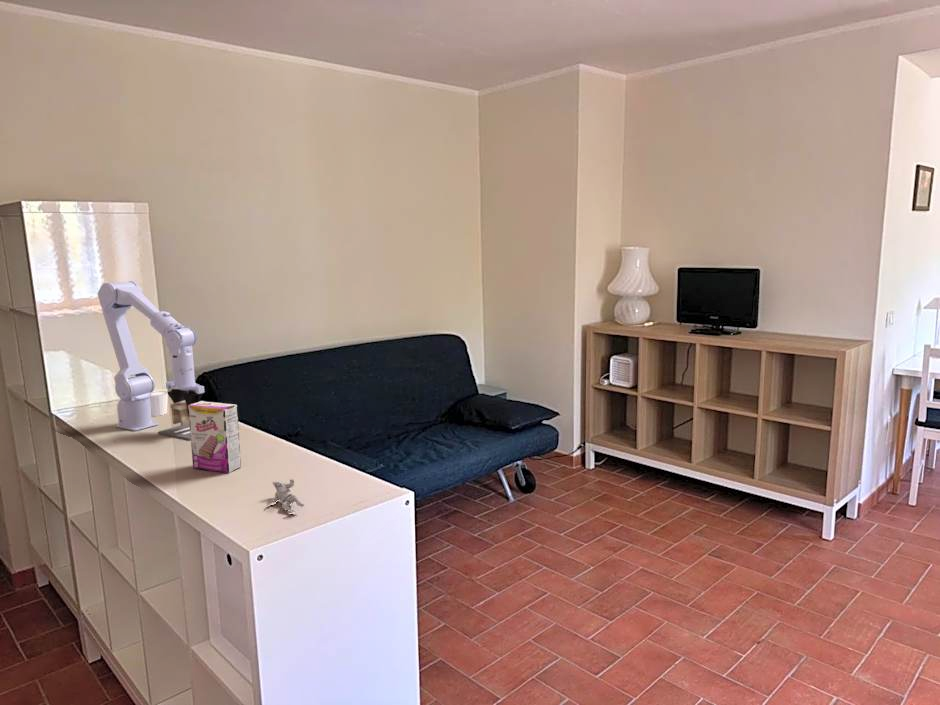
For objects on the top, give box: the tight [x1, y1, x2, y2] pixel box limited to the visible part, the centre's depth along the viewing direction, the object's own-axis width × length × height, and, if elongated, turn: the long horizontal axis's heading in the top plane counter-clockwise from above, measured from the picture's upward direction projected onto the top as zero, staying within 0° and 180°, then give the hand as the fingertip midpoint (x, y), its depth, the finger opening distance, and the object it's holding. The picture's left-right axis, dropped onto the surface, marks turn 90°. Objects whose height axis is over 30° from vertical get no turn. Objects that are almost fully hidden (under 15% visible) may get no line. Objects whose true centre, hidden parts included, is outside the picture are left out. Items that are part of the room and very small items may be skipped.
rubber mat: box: [157, 424, 191, 441], centre depth 191 cm, size 14×10×1 cm
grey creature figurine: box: [266, 478, 305, 514], centre depth 137 cm, size 8×5×12 cm
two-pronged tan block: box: [169, 400, 190, 426], centre depth 190 cm, size 4×6×6 cm
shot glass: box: [150, 391, 169, 417], centre depth 212 cm, size 7×7×7 cm
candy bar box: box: [188, 400, 242, 474], centre depth 159 cm, size 11×5×16 cm, turn 71°
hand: (187, 414), depth 190 cm, fingers closed on two-pronged tan block, 4 cm apart
